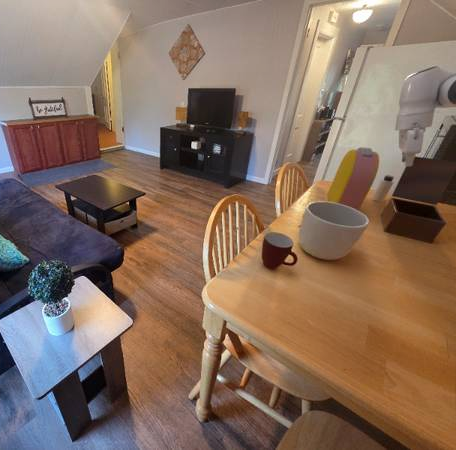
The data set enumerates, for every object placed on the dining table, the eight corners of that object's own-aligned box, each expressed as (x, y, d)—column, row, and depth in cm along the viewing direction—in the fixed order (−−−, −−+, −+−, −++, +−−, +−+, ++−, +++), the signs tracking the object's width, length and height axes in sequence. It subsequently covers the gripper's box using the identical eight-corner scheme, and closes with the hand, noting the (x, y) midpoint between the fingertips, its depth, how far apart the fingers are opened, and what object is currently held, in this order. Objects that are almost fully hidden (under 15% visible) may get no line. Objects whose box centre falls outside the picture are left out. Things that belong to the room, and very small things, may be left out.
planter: (347, 274, 75) (371, 234, 67) (288, 254, 83) (302, 216, 75) (348, 247, 87) (368, 210, 79) (296, 232, 95) (309, 196, 87)
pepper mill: (381, 198, 121) (393, 175, 115) (385, 202, 118) (398, 178, 111) (369, 196, 123) (381, 174, 116) (373, 200, 119) (385, 177, 113)
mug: (294, 265, 78) (304, 240, 73) (290, 280, 73) (300, 254, 67) (260, 253, 83) (268, 229, 78) (254, 266, 78) (261, 241, 72)
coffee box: (431, 243, 89) (446, 223, 85) (384, 231, 96) (396, 212, 91) (422, 224, 100) (435, 205, 95) (380, 215, 107) (391, 197, 102)
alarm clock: (356, 216, 106) (387, 156, 92) (331, 212, 109) (358, 153, 95) (348, 197, 122) (373, 143, 108) (327, 194, 125) (349, 141, 111)
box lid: (460, 162, 89) (459, 162, 90) (411, 156, 96) (410, 156, 97) (436, 204, 95) (435, 204, 96) (391, 196, 101) (391, 196, 102)
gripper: (433, 122, 74) (424, 168, 78) (421, 120, 89) (414, 159, 93) (404, 125, 78) (397, 169, 82) (397, 123, 93) (392, 160, 97)
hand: (406, 164), depth 88 cm, fingers open, 8 cm apart
